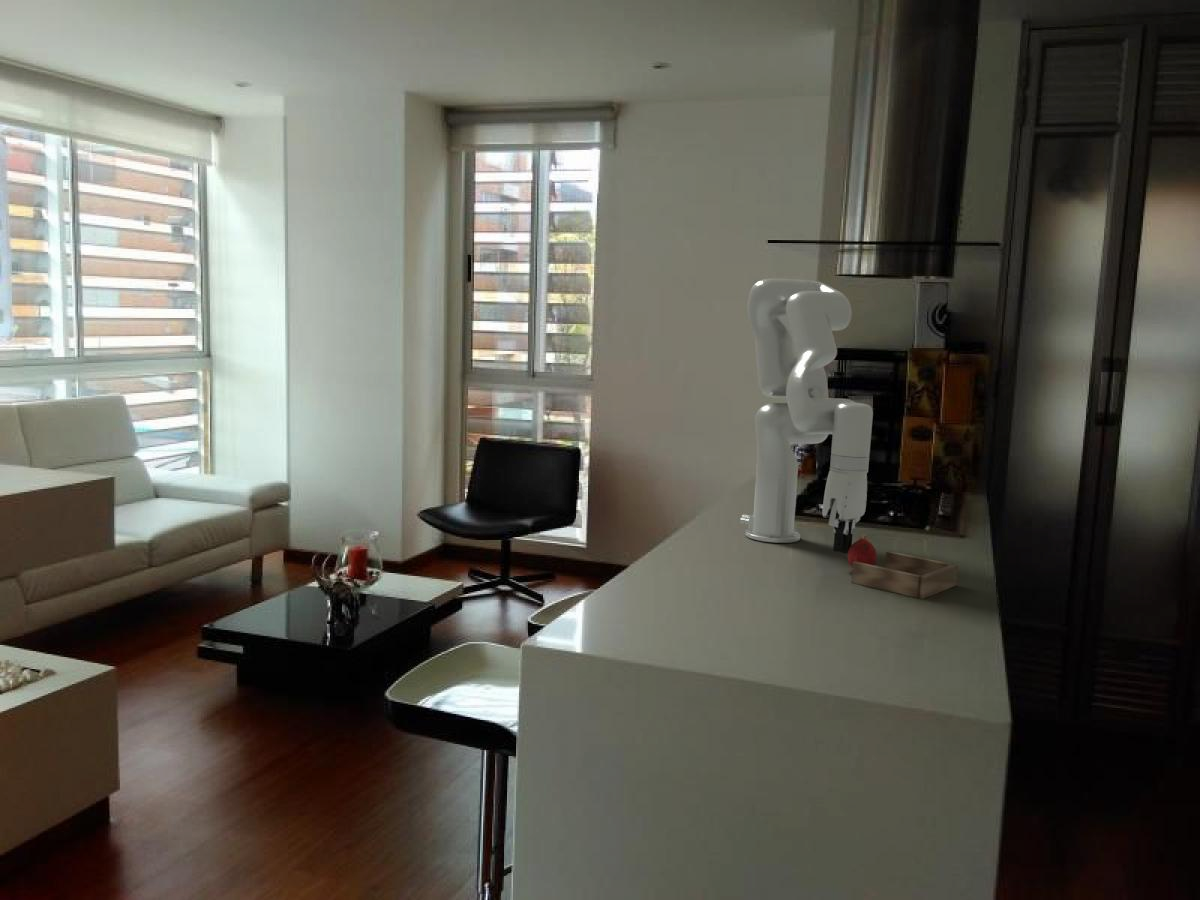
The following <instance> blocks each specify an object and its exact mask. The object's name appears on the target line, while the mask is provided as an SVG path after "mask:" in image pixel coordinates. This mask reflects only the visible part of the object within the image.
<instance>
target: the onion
mask: <svg viewBox="0 0 1200 900" xmlns="http://www.w3.org/2000/svg"><path fill="white" fill-rule="evenodd" d="M846 555H847V556H846V557H847V562H848V564H849V566H850V567H851V568H853V562H861V563H865V564H870V565H874V566H876V564H877V559H878V553H877V550H876V548H875V546H874V545H873V543H871V541H869V540H868V538H867V535H865V534H862V535H861V537H860V538H859V539H858V540H856V541H854V542H852V545H851V546H850V548H849V550H848V553H847V554H846Z"/></svg>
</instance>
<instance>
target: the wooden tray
mask: <svg viewBox="0 0 1200 900" xmlns="http://www.w3.org/2000/svg"><path fill="white" fill-rule="evenodd" d="M884 562H885V563H884V567H883V566H879V565H870V564H865V563H861V562H853V568H852V567H851V568H852V571H851V583H852V584H857V585H860V586H861V585H862V586H865V587H870V588H874V589H876V590H877V589H879V590H881V591H887V592H890V593H891V592H892V593H896V594H898V595H904V596H908V597H912V598H917V599H921V600H924V599H926V598H929V597H931V596H934V595H936V594H938V593H940V592H944V591H946V590H948V589H950V588H952V587H956V586H957V584H958V583H957V582H958V572H959V564H953V563H949V562H944V561H939V560H933V559H930V558H924V557H919V556H914V555H911V554H910V555H909V554H906V553H900V552H897V551H896V552H895V551H892V550H891V551H890V550H888V551H886V552H885V560H884Z"/></svg>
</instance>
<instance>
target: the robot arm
mask: <svg viewBox="0 0 1200 900" xmlns="http://www.w3.org/2000/svg"><path fill="white" fill-rule="evenodd" d="M747 298H748V299H747V316H748V320H749V324H750V328H751V330H752V333H753V336H754V342H755V355H756V356H755V357H756V368H757V369H756V370H757V379H758V386H759V390H760V392H761V394H762V395H764V396H765V397H769V398H775V399H777V398H780V399H786V402H771V403H767V404H764V405H763V406H761V407H760V408H758V410H757V412H756V414H755V418H754V429H755V436H756V469H755V486H754V500H753V514H752V515H750V514H745V513H744V514H742V515H741V517H740V519H739V522H740V523H741V524H745V525H748V528H746V529H745V536H746V537H747V538H748V539H749V538H750V539H751V540H754V541H755V540H756V541H759V542H766V543H773V544H776V543H777V544H787V543H795V542H798V541H800V540H801V534H800V533H799V532H798V531H795V529H794V528H795V516H796V515H795V514H796V502H797V488H798V476H799V475H798V473H799V463H798V459H797V456H796V454H795V453H794V451H793V449H792V448H791V445H814V444H815V445H817V444H820V443H823V442H824V441H825V440H826V439H827V438H828V436H829V435H832V437H831V439H832V440H831V451H830V453H831V454H830V463H829V465H830V466H829V471H828V473H827V474H828V475H827V479H826V483H825V489H824V493H823V494H824V495H823V504H822V516H823V518H825V519H829V520H828V527H829V526H830V527H833V532H834V535H833V536H834V537H833V538H834V539H833V551H834V552H837V553H840V554H845V555H847V554H848V550H849V548H850V546H851V545H852V544H853V536H854V535H853V534H854V532H855V529H856V524H857V523H858V522H860V520H861V517H862V516H864V515H865V512H866V508H867V497H868V495H867V494H868V475H867V474H868V473H869V464H870V463H869V462H870V453H871V442H872V441H871V440H872V428H873V417H874V412H873V411H874V409H873V407H872V406H871V405H869V404H866V403H862V402H861V403H860V402H856V401H854V400H852V399H848V398H842V397H841V398H839V397H838V398H833V397H829V388H828V380H827V379H828V378H827V373H826V370H825V368H824V367H825V366H827V365H829V364H830V363H831V362H833V361H834V360H835V359H836V357H837V355H838V349H837V345H836V342H835V339H834V334H833V331H837V332H838V331H842V330H844V329H846V328H847V327H848V326H849V324H850V322H851V319H852V315H853V314H852V313H853V311H852V307H851V303H850V301H849V299H848V298H847V297H846V295H845V294H844V293H843V292H841V291H839V290H838V289H835V288H833V287H832V286H830V285H828V284H826V283H823V282H821V281H818V280H817V281H816V280H809V279H795V278H793V279H792V278H781V277H780V278H779V277H778V278H776V277H775V278H773V277H772V278H771V277H770V278H765V279H761V280H759V281H756V283H754V284H753V286H752V287H751V289H750V291H749V295H748V297H747ZM780 317H786V318H787V322H788V326H789V329H790V331H789V329H788V327H787V326H786V325H785V323H784V322H783V321H782V320H781V319H780ZM793 346H794V348H793ZM794 351H795V352H794ZM794 353H795V354H796V355H795V354H794Z"/></svg>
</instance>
